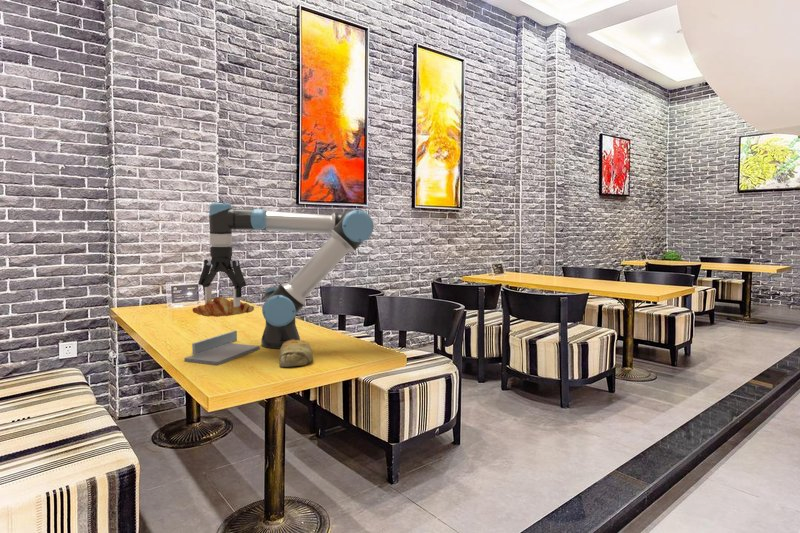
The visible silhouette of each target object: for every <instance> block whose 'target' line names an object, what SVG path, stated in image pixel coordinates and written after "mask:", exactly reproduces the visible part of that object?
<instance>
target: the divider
mask: <svg viewBox="0 0 800 533" xmlns="http://www.w3.org/2000/svg"><path fill="white" fill-rule="evenodd" d="M236 341H238V332H237V330H232V331H229V332H226V333H222V334H219V335H215V336H212V337H209V338H206V339H202V340H198V341H195V342H193V343H192V344H191V345H192V346H191V348H192V355H195V354H198V353H201V352H204V351H207V350H210V349H213V348H216V347H219V346H222V345H225V344H228V343H234V342H236Z"/></svg>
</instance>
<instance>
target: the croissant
mask: <svg viewBox="0 0 800 533" xmlns="http://www.w3.org/2000/svg"><path fill="white" fill-rule="evenodd" d="M254 310H255V306H253V305H251V304H249V303H247V302H245V303H244V302H241V301H240V306H237V307H234V304H233V299H230V300H229V299H228V298H226V297H223V296H218V297H217V296H216V297H215V298H213V299H212V302H207V303H206V304H205V303H204V304H202V305H201V304H200V305H198V306H196V307H192V312H193V314H196V315H199V316H204V317H219V318H220V317H230V316H237V315H242V314H243V315H244V314H245V313H247V314H248V313H251V312H253V311H254Z"/></svg>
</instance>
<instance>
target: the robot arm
mask: <svg viewBox="0 0 800 533" xmlns="http://www.w3.org/2000/svg"><path fill="white" fill-rule="evenodd" d="M208 217H209V219H208V221H209V224H208V225H209V245H210V247H209V256H210V257H211V258H209V259H204V260H203V268H202V271H201V274H200V275H199V280H198V285H199V286H202V287H203V289H202V290H203V296H204V305H205V304H206V303H207V302H212V301H213V296H212V295H213V293H212V290H213V289H212V288H213V287H212V286H211V285H212V284H211V283H212V282H213V280H214V278H215V277H216V276H217V275H218V273H219V272H221V273H224V274H226V275H227V277H228V279H229V280H230V282H231V284H232V285H233V289H232V290H233V291H232V293H233V294H232V295H233V296H232V297H233V298H232V300H233V304H234V307H237V306H240V302H241V297H242V288H244V287H247V282H246V280H245V277H244V274H243V271H242V269H241V266H240V260H239V259H236V260H233V259H232V257H233V247H232V246H233V232H232V231H233V230H235V231H236V230H249V231H252V230H254V231H276V232H289V233H291V232H292V233H307V234H308V233H310V234H321V235H323V234H325V235H331V236H330V237H329V238H328V240H326V241H325V243H324V244H323V245H322V246H321V247H320V248H319V249H318V250H317V251H316V252H315V253H314V255H312V256H311V257H310V258H309V260H308V261H307V262H306V263H305V264H304V265H303V266H302V267H301V268H300V269H299V270H298V272H297V273H295V275H294V276H293V277H292V278H291V279H290V280H289V281H288V282H286V283H280V285H279V286H277V287H276V286H275V287H266V288H265V292H264V297H265V299H264V302H263V305H262V309H261V311H262V316H263V318H264V320H265V327H264V330H263V333H262V336H261V339H260V340H261V342H260V343H261V344H260V345H261V346H262V347H264V348H270V349H280V348H281V346H282V344H283V343H284V342H286V341H288V340H292V339H295V340H301V337H300V333H299V330H298V328H297V325H296V315H297V313H299V311H300V310H301V309H302V308H303V307H304V306H305V305H306V298H307V297H308V296H309V295H310V293H311V292H312V291H314V289H316V287H318V285H319V284H320V283H321V282H322V281H323V280H324V279H325V277H326V276H327V275H328V274H329V273H331V271H332V270H333V269H334V268H335V267H336V266H337V264H338V263H340V261H341V260H342V259H343V258H345V256H346V255H347V254H349V252H355V251H356V250H357V249H358V248H359V247H360V246H361V245H362V243H363V242H365V241H367V240H369V239H370V237H371V236H372V234H373V231H374V220H373V219H372V217H371V216H370V215H369V214H368V212H365V211H364V210H361V209H360V210H359V209H355V210H350V211H349V212H333V213H331V214H321V213H320V214H317V213H316V214H315V213H302V212H289V211H288V212H284V211H275V210H274V211H272V210H271V211H270V210H265V209H263V208H259V209H258V208H233V207H232V204H231V203H230V202H212V203H210V204H209V214H208ZM231 245H232V246H231Z"/></svg>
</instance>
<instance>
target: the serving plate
mask: <svg viewBox="0 0 800 533" xmlns="http://www.w3.org/2000/svg"><path fill="white" fill-rule="evenodd" d="M258 349H259V350H260V349H261V347H260V345H254V344H244V343H234V342H231V343H228V344H225V345H222V346H219V347H216V348H213V349H210V350H207V351H204V352H201V353H198V354H192V355H190V356H187V357H183V358H184V362H185V361H187V362H188V363H194V362H195V364H201V365H202V364H205V365H211V366H219V364H220V365H223V364H225V363H228V362H230V361H232V360H235V359H237V358H240V357H243V356H246V355H248V354H250V353H253V352H255V351H258Z"/></svg>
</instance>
